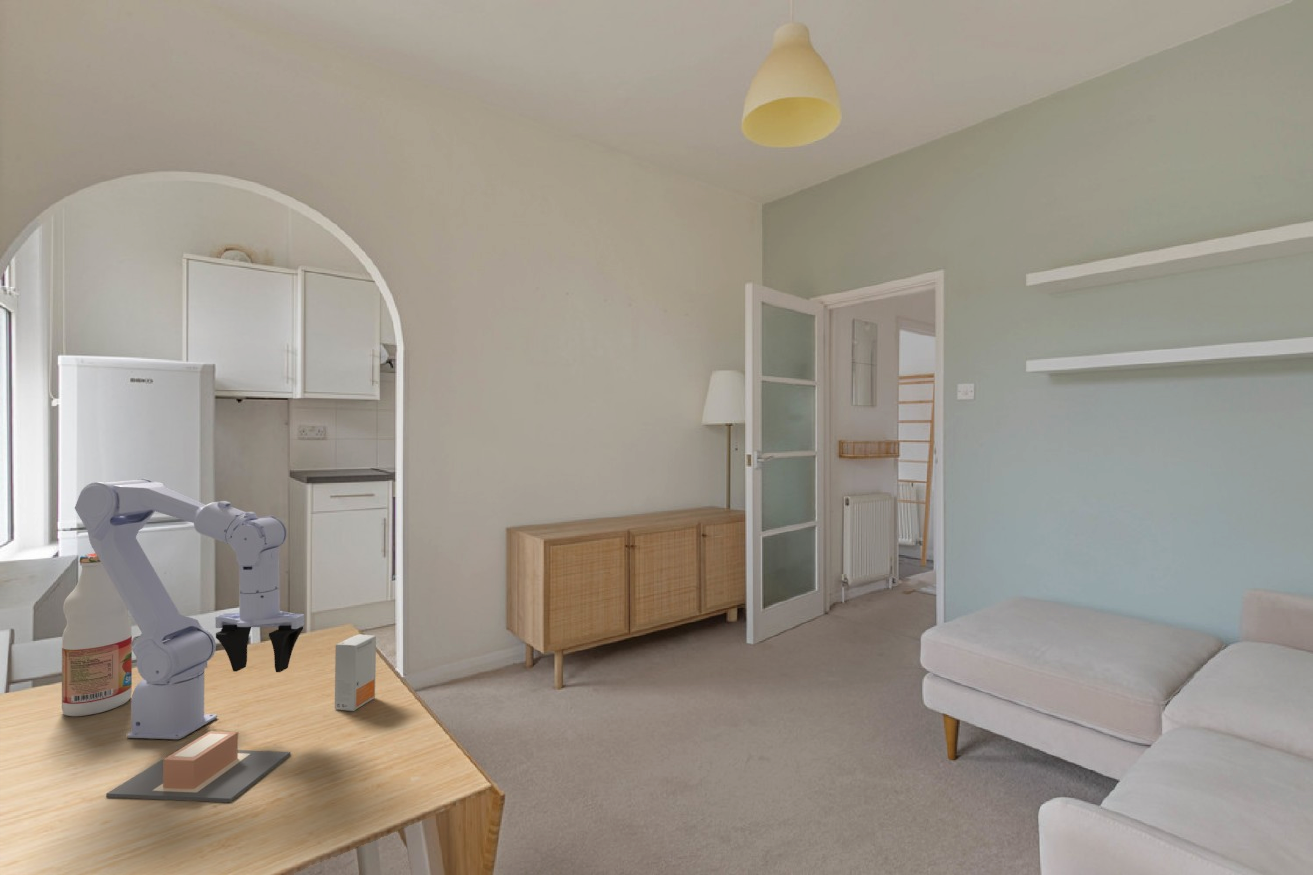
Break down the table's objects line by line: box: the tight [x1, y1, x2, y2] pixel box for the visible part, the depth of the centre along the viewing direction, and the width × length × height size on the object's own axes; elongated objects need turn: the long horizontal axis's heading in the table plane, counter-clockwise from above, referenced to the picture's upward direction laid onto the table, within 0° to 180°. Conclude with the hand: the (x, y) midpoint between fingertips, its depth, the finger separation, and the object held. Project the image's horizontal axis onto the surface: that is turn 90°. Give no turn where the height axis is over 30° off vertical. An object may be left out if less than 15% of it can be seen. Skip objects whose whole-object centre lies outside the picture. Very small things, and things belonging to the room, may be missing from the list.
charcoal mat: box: [105, 747, 292, 803], centre depth 87 cm, size 18×12×1 cm, turn 87°
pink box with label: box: [162, 730, 239, 789], centre depth 87 cm, size 8×4×4 cm, turn 177°
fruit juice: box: [61, 552, 133, 717], centre depth 109 cm, size 9×9×28 cm
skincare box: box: [334, 633, 377, 712], centre depth 110 cm, size 6×4×12 cm
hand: (260, 669), depth 100 cm, fingers open, 7 cm apart
